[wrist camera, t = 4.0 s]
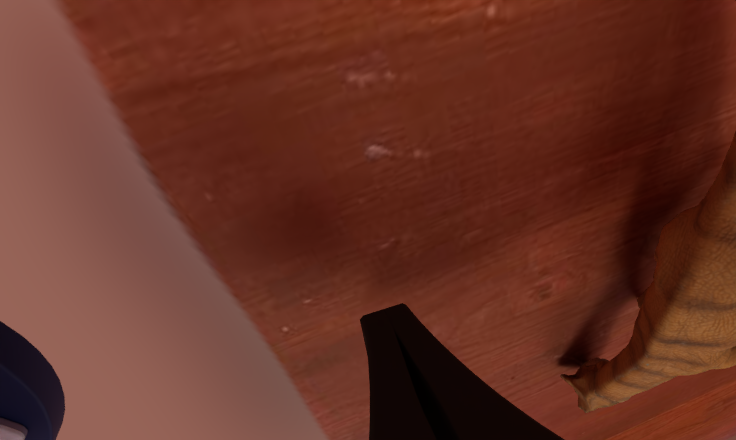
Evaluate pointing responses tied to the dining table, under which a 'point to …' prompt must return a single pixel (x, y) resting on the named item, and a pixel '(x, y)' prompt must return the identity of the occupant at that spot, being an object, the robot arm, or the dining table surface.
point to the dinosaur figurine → (678, 304)
